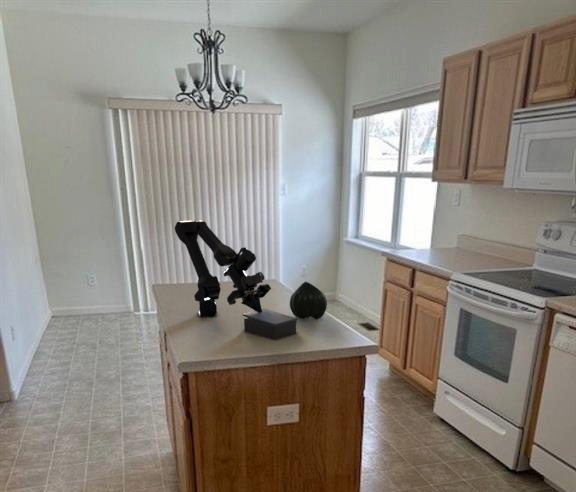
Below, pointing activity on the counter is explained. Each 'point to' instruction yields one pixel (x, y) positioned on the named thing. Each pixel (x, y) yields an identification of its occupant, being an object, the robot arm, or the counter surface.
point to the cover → (269, 317)
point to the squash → (308, 302)
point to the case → (269, 328)
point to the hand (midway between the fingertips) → (260, 312)
